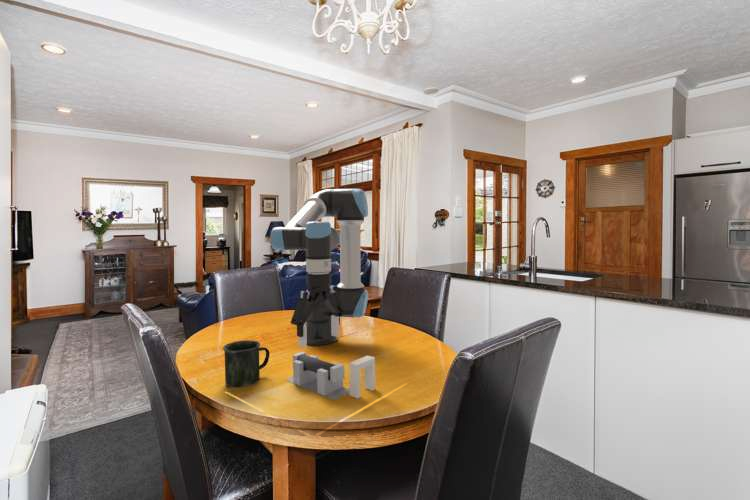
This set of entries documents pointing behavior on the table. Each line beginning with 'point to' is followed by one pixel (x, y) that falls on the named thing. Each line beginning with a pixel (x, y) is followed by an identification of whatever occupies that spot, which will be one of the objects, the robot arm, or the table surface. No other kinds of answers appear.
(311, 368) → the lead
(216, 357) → the table surface
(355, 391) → the u-shaped clip
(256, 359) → the mug
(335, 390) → the cradle
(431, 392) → the table surface
